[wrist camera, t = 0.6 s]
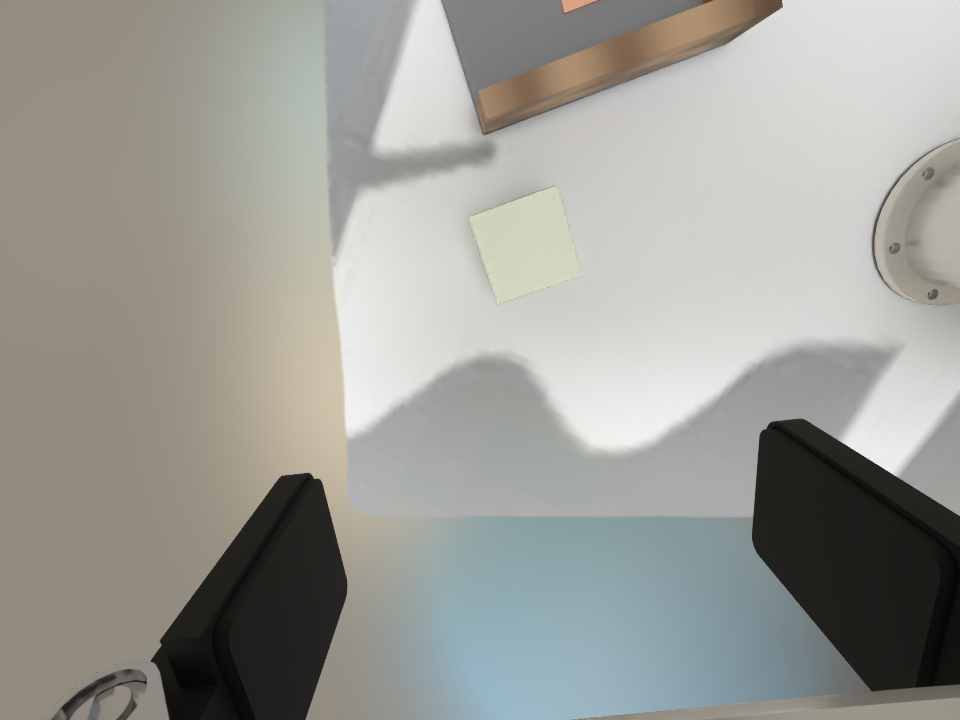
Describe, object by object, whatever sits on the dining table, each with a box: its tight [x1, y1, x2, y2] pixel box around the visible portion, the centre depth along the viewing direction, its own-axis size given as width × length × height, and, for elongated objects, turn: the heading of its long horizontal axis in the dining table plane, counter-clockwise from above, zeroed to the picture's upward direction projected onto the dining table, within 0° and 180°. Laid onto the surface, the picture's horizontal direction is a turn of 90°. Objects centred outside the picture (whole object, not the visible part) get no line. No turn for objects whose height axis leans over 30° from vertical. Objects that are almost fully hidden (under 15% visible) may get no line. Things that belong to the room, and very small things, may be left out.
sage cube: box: [468, 186, 582, 305], centre depth 33 cm, size 6×6×6 cm
